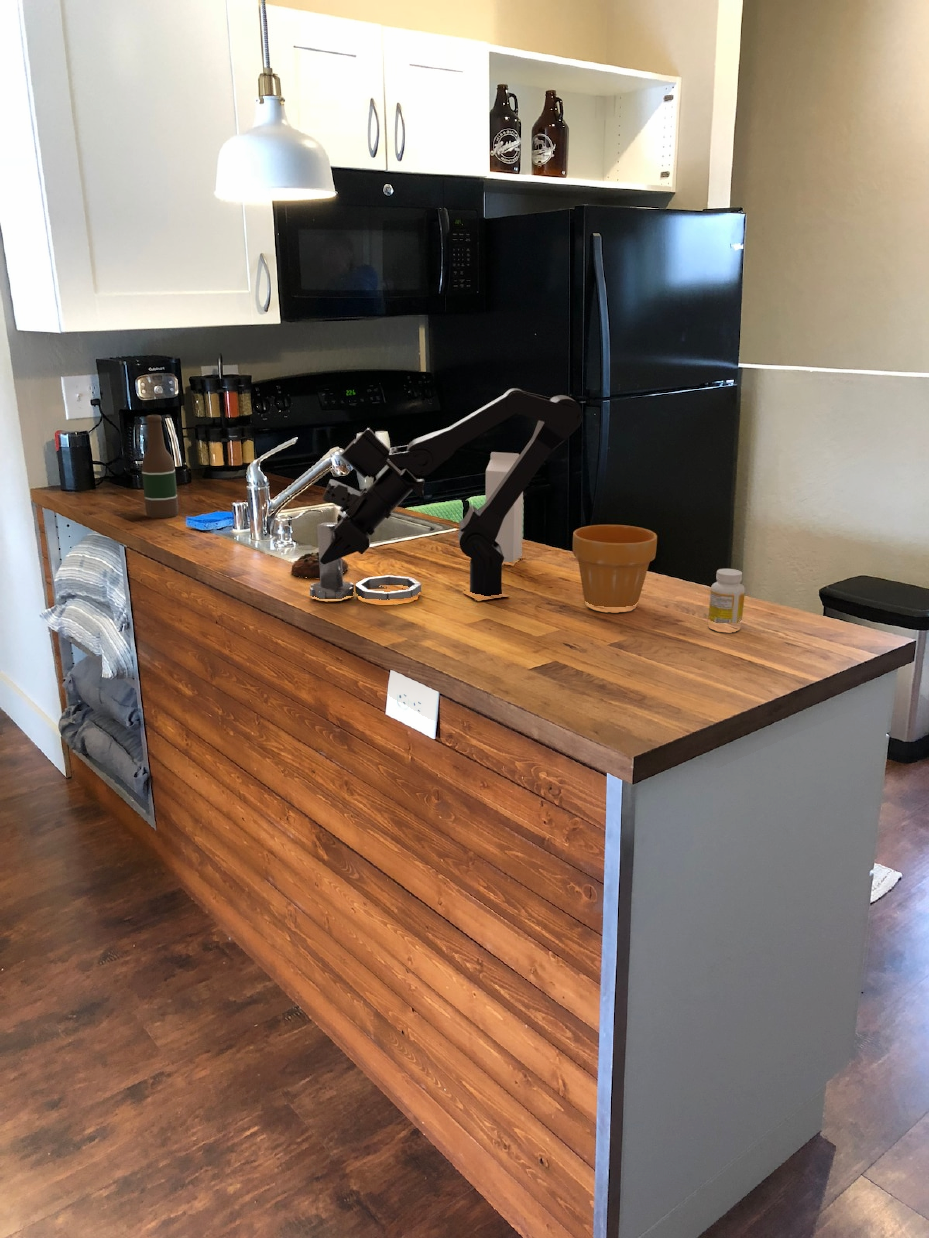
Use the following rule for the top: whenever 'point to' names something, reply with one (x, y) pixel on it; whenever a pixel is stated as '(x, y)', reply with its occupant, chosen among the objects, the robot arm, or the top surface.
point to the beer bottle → (158, 474)
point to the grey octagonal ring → (375, 582)
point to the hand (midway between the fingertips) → (322, 559)
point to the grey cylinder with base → (330, 569)
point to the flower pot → (613, 562)
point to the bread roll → (310, 566)
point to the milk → (512, 521)
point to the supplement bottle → (727, 597)
